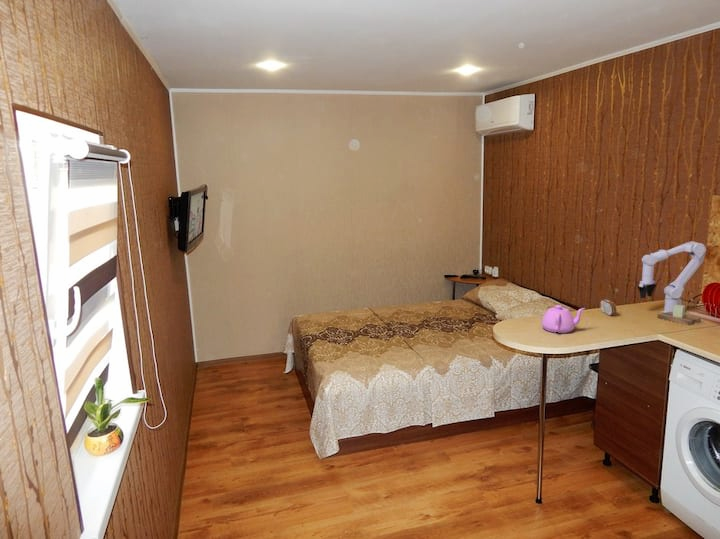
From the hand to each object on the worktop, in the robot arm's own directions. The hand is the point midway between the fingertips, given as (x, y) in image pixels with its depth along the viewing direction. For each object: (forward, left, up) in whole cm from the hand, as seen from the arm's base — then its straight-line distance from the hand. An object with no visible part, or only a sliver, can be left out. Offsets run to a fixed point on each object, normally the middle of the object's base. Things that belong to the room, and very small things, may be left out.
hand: (646, 296), depth 286 cm
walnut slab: (+4, +20, -10) cm, 23 cm away
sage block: (+4, +20, -7) cm, 21 cm away
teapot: (+68, -10, -10) cm, 69 cm away
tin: (+20, -12, -10) cm, 25 cm away
